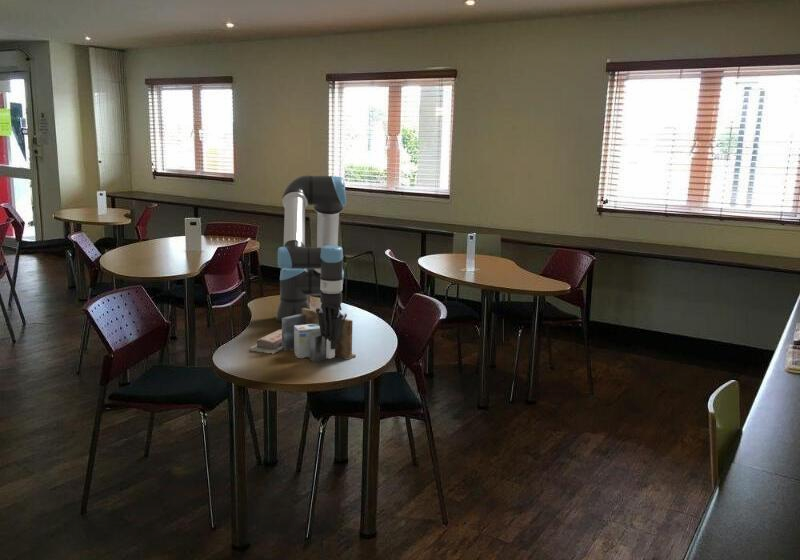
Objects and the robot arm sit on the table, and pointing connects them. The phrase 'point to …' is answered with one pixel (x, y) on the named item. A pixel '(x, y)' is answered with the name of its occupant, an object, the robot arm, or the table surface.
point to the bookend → (317, 348)
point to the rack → (312, 318)
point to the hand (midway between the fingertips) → (330, 357)
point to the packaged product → (269, 343)
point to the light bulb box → (304, 338)
